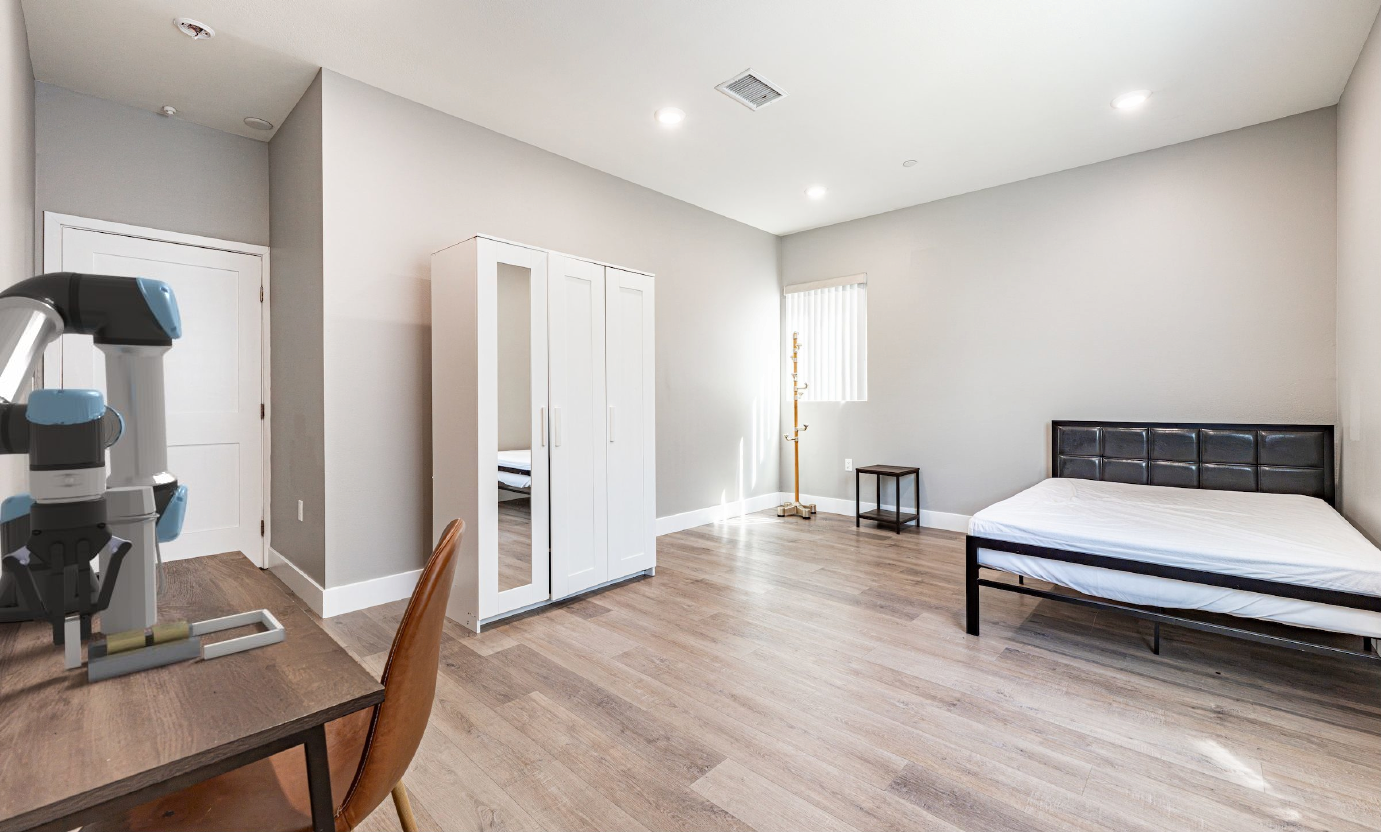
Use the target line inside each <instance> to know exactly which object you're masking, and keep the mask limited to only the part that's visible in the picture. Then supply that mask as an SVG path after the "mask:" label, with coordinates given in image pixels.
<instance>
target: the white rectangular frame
mask: <svg viewBox="0 0 1381 832" xmlns="http://www.w3.org/2000/svg"><path fill="white" fill-rule="evenodd" d="M259 622H262V623H263V625H265V627H266V628H267V629H268V631H263V632H259V633H254V634H251V635H250V634H249V635H246V636H242V637H237V638H233V639H228V640H224V641H219V642H215V643H211V644H206V645H203V658H204V660H209V659H214V658H217V657H221V656H226V655H230V654H234V653H239V652H242V651H246V650H247V651H248V650H250V649H254V648H255V649H256V648H260V647H264V646H267V645H271V644H275V643H279V642H280V643H281V642H284V641H286V628H285V627H284V626H283V625H282V624H281V622H279V621H278V620H277V618H276V617H275V616H274V615H273V614H272V613H271V612H270V611H269V610H268V608H262V609H257V610H253V611H252V610H251V611H248V612H247V611H246V612H242V613H237V614H233V615H232V614H231V615H228V616H222V617H219V618H218V617H217V618H212V619H207V620H204V621H198V622H194V623H192V625H193V637H196V636H199V635H203V634H207V633H208V634H209V633H213V632H218V631H222V630H226V629H231V628H236V627H241V626H247V625H250V624H255V623H259Z"/></svg>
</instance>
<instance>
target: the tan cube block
mask: <svg viewBox="0 0 1381 832" xmlns="http://www.w3.org/2000/svg"><path fill="white" fill-rule="evenodd" d="M144 632H145V631H144V629H138V630H133V631H128V632H123V633H118V634H107V635H106V640H107V656H109V655H113V654H118V653H123V652H127V651H132V650H136V649H141V648H145V633H144Z"/></svg>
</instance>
